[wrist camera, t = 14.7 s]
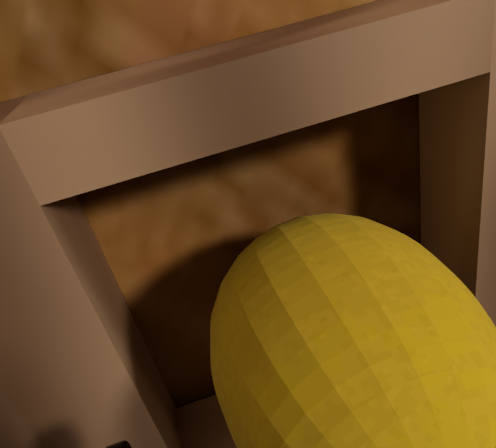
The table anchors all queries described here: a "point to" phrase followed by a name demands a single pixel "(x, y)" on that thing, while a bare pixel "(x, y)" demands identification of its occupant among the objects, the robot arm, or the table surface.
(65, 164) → the sliding lid box
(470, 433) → the lemon
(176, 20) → the table surface
